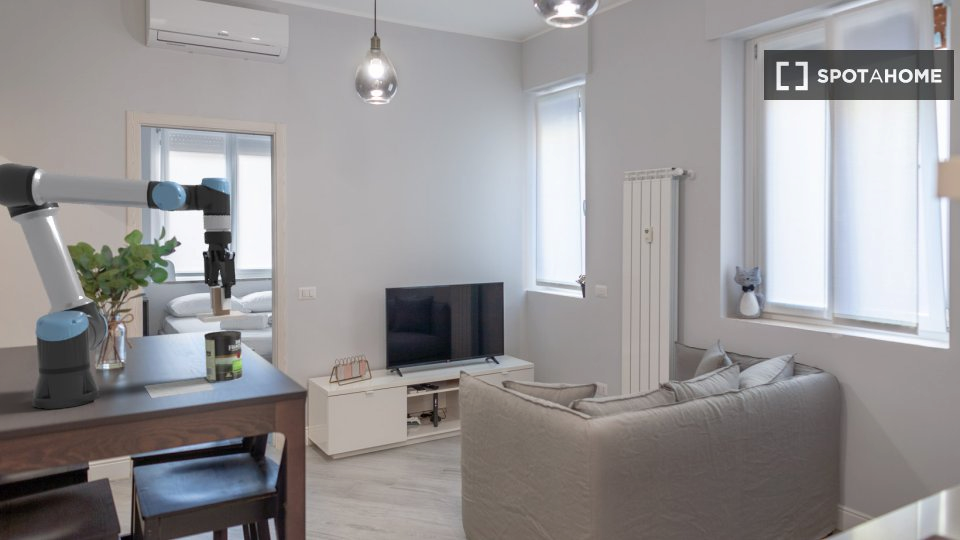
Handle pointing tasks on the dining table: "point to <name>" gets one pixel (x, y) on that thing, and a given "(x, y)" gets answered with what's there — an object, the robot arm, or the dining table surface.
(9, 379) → the dining table surface
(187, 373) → the dining table surface
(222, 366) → the coffee can
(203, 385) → the mat
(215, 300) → the square plate with block
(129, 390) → the dining table surface
